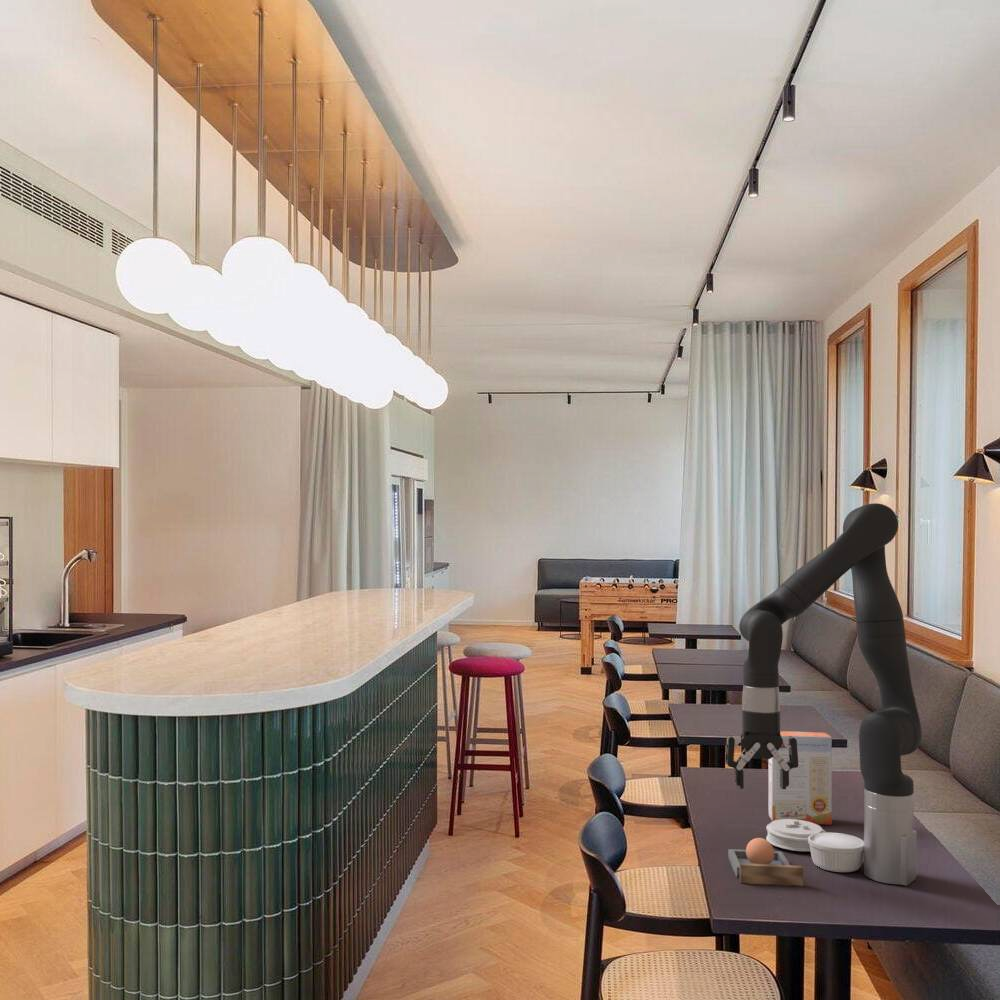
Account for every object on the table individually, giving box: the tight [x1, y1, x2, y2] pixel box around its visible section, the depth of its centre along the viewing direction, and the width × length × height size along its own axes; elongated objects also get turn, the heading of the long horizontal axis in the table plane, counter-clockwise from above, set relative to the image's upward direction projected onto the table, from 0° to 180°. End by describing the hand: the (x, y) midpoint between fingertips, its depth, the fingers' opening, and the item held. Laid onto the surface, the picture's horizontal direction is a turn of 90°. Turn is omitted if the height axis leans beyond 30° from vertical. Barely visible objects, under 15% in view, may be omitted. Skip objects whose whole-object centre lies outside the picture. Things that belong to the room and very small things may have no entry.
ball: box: [745, 837, 775, 864], centre depth 196 cm, size 6×6×6 cm
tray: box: [727, 848, 791, 879], centre depth 196 cm, size 11×11×2 cm
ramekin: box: [808, 832, 864, 873], centre depth 199 cm, size 11×11×5 cm
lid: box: [765, 819, 827, 852], centre depth 212 cm, size 13×13×5 cm
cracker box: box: [767, 730, 833, 826], centre depth 230 cm, size 14×6×21 cm, turn 84°
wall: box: [739, 863, 804, 886], centre depth 188 cm, size 12×1×4 cm, turn 85°
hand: (761, 788), depth 195 cm, fingers open, 8 cm apart
